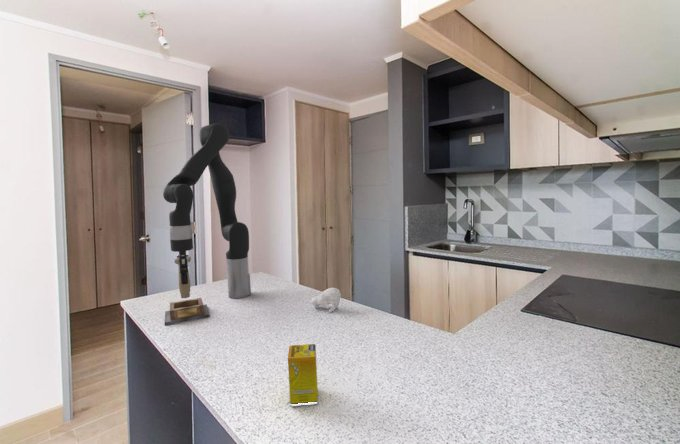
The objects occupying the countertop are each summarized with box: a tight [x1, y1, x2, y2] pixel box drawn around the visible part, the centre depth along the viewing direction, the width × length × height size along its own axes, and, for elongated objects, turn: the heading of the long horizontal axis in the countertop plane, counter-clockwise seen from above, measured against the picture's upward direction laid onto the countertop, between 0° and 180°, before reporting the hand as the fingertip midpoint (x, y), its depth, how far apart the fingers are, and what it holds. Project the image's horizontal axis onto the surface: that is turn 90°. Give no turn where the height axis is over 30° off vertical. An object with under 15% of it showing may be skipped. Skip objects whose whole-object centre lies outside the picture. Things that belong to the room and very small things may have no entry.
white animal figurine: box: [311, 287, 342, 313], centre depth 127 cm, size 6×8×12 cm
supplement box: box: [287, 343, 319, 404], centre depth 72 cm, size 6×6×11 cm
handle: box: [174, 256, 192, 299], centre depth 124 cm, size 5×6×15 cm
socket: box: [164, 297, 211, 326], centre depth 125 cm, size 15×13×4 cm
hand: (184, 282), depth 124 cm, fingers closed on handle, 4 cm apart
